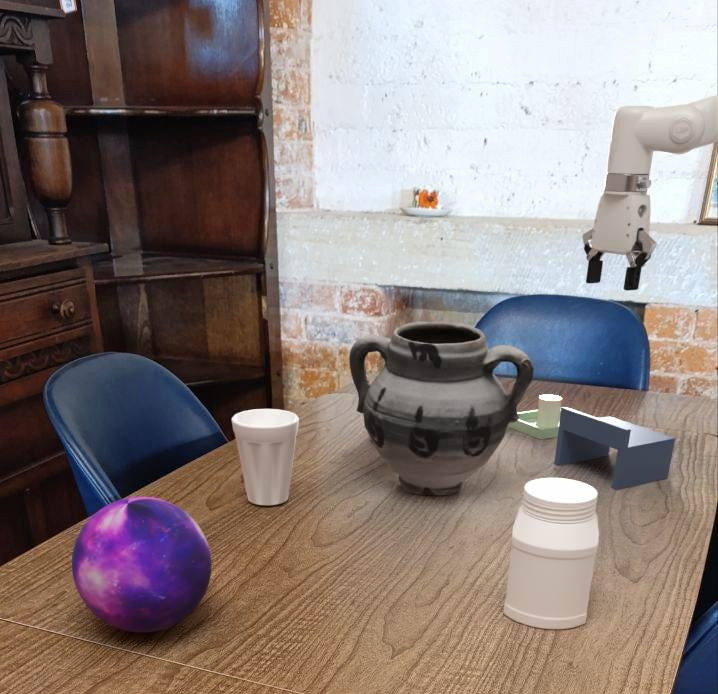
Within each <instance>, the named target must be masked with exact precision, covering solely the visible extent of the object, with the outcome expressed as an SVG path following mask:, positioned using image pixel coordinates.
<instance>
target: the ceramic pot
mask: <svg viewBox="0 0 718 694" xmlns="http://www.w3.org/2000/svg"><path fill="white" fill-rule="evenodd" d="M374 352H378V353H379V354H380V357H381V358H382V359H383V360H384V365H383V368H381V370H380V371H379V373H378V374H377V376H376V377H375V378H374V380H373V381H372V382H371V383H370V381H369V380H368V377H367V369H366V358H367V356H368V354H369V353H374ZM501 363H512V364H513V365H514V367H515V370H516V378H515V382H514V384H513V386H512V389H511V391H510V392H509V394H508V395H507V393H506V390H505V388H504V386H503V384H502V382H501V381H500V380H499V379H498V378H497V376H496V375H495V374H494V371H495V369H496V368H497V367H498V366H499V365H500V364H501ZM534 369H535V368H534V365H533V362H532V360H531V358H530V357H529V356H528V354H526V352H524V351H523V350H521V349H519V348H517V347H515V346H513V345H507V344H505V345H502V344H499V345H496V346H492V347H491V348H489V345H488V342H487V339H486V336H485V333H484V332H483V331H482V330H481V329H478V328H477V327H474V326H471V325H467V324H464V323H458V322H453V321H416V322H408V323H406V324H403V325H400V326H399V327H397V328H395V329H394V330H393V333H392V336H391V338H389V337H386V336H382V335H377V334H367V335H365V336H363V337H360V338H358V339H357V340H356V341H355V342H354V343H353V345H352V346H351V348H350V351H349V370H350V374H351V379H352V382H353V384H354V386H355V389H356V392H357V397H358V402H357V408H356V412H358V413H360V414H363V416H362V417H363V423H364V428H365V430H366V431H367V434H368V435H369V436H368V437H370V440H371V442H372V444H373V446H374V447H375V449H376V451H377V453H378V454H379V457H381V459H383V461H384V462H385V464H386V465H387V466H388V467H389V468H390V469H391V471H392V472H394V473H395V474H396V475H397V476H398V480H399V483H400V486H401V487H402V489H403V490H404V491H406V492H408V493H411V494H414V495H422V496H446V495H451V494H454V493H456V492H458V491H459V490H460V489H461V488H462V485H463V481H465V480H466V479H468V478H469V477H470V476H472V475H473V474H475V473H477V472H478V471H479V470H480V469H481V468H482V467H484V465H486V463H487V462H488V461H489V460H490V459H491V457H492V456H493V455H494V453H495V451H496V450H497V449H498V447H500V444H501V442H502V441H503V439H504V437H505V436H506V432H507V429H508V428H509V427H508V424H509V423H514V422H516V421H517V420H518V419H519V415H518V413H519V412H518V411H517V407H518V405H519V404H520V402H521V400H523V397H524V395H525V393H526V392H527V390H528V388H529V386H530V385H531V383H532V381H533V377H534Z"/></svg>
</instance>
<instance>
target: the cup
mask: <svg viewBox="0 0 718 694" xmlns="http://www.w3.org/2000/svg"><path fill="white" fill-rule="evenodd" d="M299 423H300V418H299V417H298V415H297V414H296V413H294V412H292V411H289V410H284V409H279V408H255V409H248V410H243V411H240V412H237V413H235V414H234V415H233V416H232V417H231V425H232V431H233V433H234V437H235V442H236V446H237V452H238V458H239V462H240V467H241V471H242V478H243V482H244V483H243V484H244V487H245V492H246V497H247V500H248V502H250V503H251V504H254V505H259V506H276V505H280V504H283V503H285V502H287V501H288V499H289V495H290V487H291V479H292V474H293V464H294V457H295V449H296V442H297V434H298V431H299Z"/></svg>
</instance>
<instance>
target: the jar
mask: <svg viewBox="0 0 718 694" xmlns="http://www.w3.org/2000/svg"><path fill="white" fill-rule="evenodd" d="M598 497H599V494H598V490H596V488H595V487H594V486H592V485H590V484H588V483H586V482H582V481H579V480H575V479H571V478H563V477H541V478H536V479H532V480H530V481H528V482H526V483H525V484H524V486H523V493H522V502H521V505H520V506H519V507H518V508H517V509H516V510H515V513H514V514H515V516H514V523H513V525H512V532H511V539H510V555H509V563H508V574H507V582H506V591H505V599H504V604H503V610H502V611H503V612H502V613H503V614H504V615H505V616H506V617H507V618H509V619H510V620H512V621H514V622H517V623H519V624H520V625H521V624H522V625H524V626H527V627H532V628H535V629H544V630H568V629H572V628H577V627H580V626H582V625H585V624H586V622H587V617H588V606H589V602H590V601H589V600H590V596H591V595H590V594H591V588H592V582H593V576H594V570H595V564H596V557H597V554H598V549H599V540H600V531H599V517H598V515H597V513H596V509H597V501H598Z"/></svg>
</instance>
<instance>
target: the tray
mask: <svg viewBox="0 0 718 694" xmlns="http://www.w3.org/2000/svg"><path fill="white" fill-rule="evenodd" d="M537 410H538V409H534V410H527V411H521V412H517V413H518V415H519V419H518V420H517V421H516V422H514V423H509V424H508V427H507V428H510V429H513V430H516V431H518V432H520V433H523V434H526V435H528V436H531V437H532V438H536V439H538V440H547V439H552V438H558V430H559V425H558V426H554V427H548V428H542V427H538V426H537V425H536V419H537ZM560 414H561V410H560ZM559 422H560V418H559Z"/></svg>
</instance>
